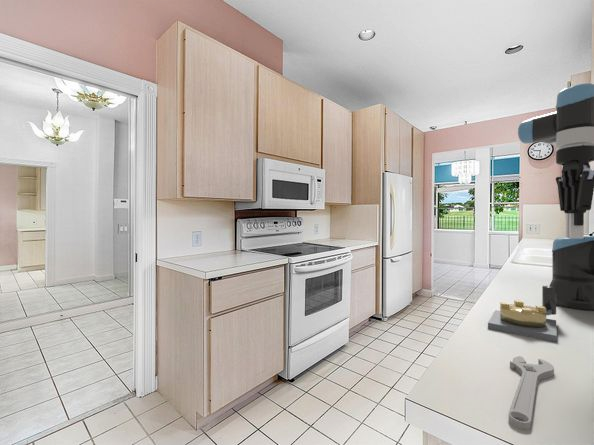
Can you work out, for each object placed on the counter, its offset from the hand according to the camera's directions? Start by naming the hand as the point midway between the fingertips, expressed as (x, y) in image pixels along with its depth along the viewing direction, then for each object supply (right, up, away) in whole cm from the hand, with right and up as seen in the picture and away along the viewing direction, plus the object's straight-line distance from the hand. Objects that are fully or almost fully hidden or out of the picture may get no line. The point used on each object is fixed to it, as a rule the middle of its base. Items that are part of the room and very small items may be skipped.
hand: (574, 238), depth 78 cm
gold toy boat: (-7, -23, +5) cm, 24 cm away
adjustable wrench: (-33, -26, -25) cm, 49 cm away
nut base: (-10, -24, +6) cm, 27 cm away
